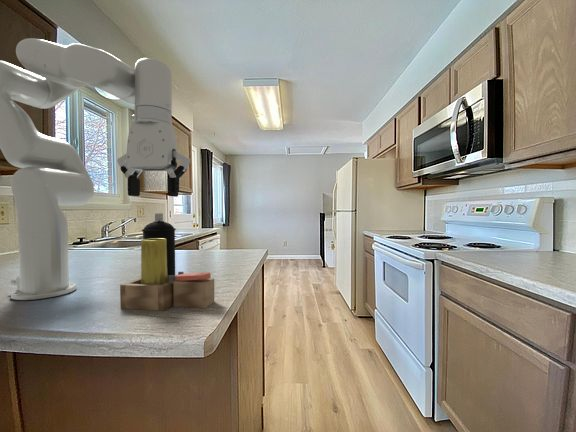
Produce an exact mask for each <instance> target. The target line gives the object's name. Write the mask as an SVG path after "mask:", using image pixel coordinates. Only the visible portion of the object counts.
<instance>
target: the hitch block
mask: <svg viewBox="0 0 576 432" xmlns="http://www.w3.org/2000/svg"><path fill="white" fill-rule="evenodd" d="M178 274H185V273H184V271H178V272H177V274H175V275H167V276H168V282H167V283H165V284H163V285H149V284H141V277H139V278H136V279H132V280H129V281H128V282H125V283H122V284H119V291H120V293H119V295H120V297H119V299H120V300H119V301H120V303H119V305H120V307H119V308H120V309H128V310H144V311H146V310H147V311H159V312H160V311H161V312H163V311H166V310H167V309H169V308H171V307H172V306H173V307H175V308H176V307H178V308H193V309H194V308H196V309H206V308H208V307H210V306H211V305H212V304H214V303H215V278H209V279H205V280H185V281H175V280H174V276H176V275H178Z"/></svg>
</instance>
